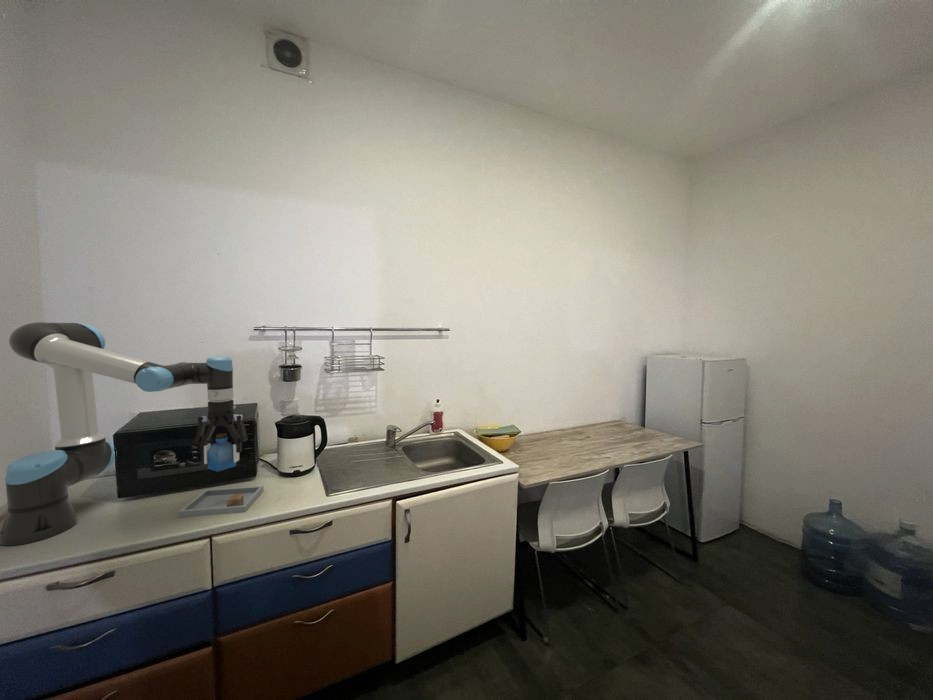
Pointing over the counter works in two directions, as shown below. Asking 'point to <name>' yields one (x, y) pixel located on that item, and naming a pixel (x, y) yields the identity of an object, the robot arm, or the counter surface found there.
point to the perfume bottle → (221, 454)
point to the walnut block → (235, 500)
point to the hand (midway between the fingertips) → (222, 461)
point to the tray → (220, 501)
